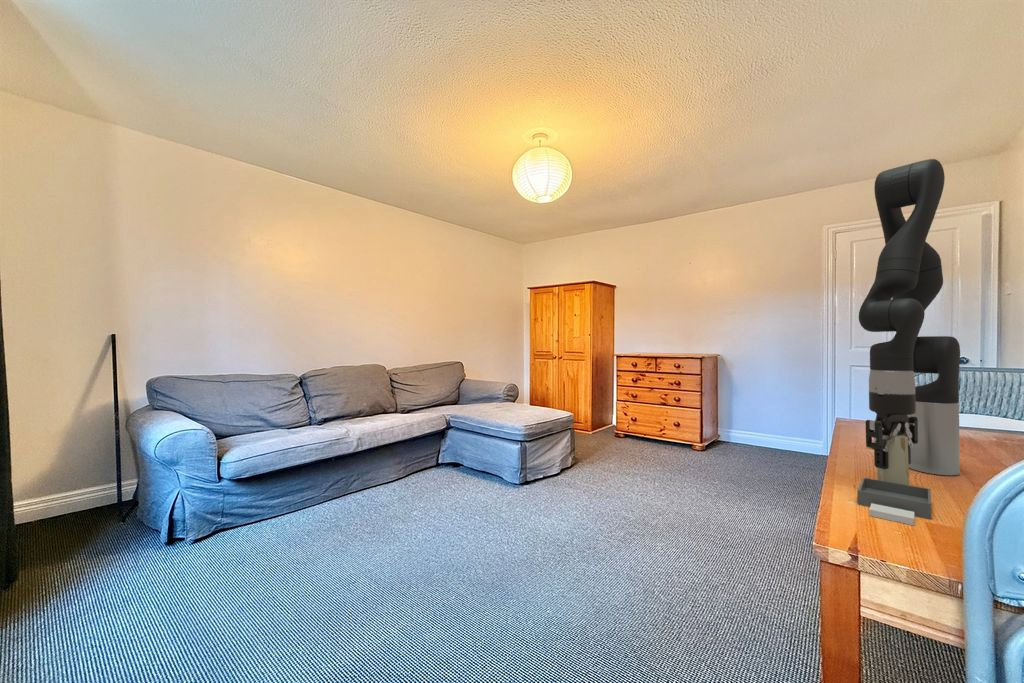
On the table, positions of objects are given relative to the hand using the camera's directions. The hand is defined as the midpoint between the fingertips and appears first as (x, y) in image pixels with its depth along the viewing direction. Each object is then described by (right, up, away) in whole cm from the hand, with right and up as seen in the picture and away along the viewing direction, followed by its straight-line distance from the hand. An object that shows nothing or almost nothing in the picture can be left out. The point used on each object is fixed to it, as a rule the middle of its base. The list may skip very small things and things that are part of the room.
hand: (892, 465), depth 90 cm
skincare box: (0, -5, 0) cm, 5 cm away
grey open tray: (-8, -5, -9) cm, 14 cm away
